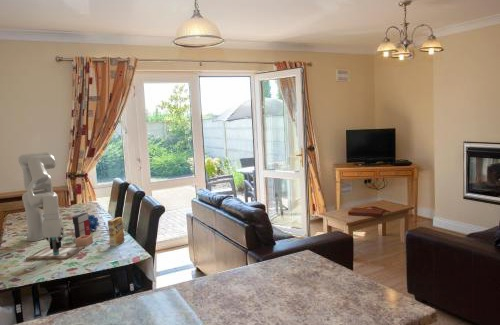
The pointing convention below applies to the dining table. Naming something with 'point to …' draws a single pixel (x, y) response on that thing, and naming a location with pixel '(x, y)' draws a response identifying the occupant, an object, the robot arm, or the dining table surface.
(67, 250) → the clipboard
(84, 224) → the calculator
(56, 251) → the marker
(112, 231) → the candy box
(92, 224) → the grapes
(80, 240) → the pen cup
